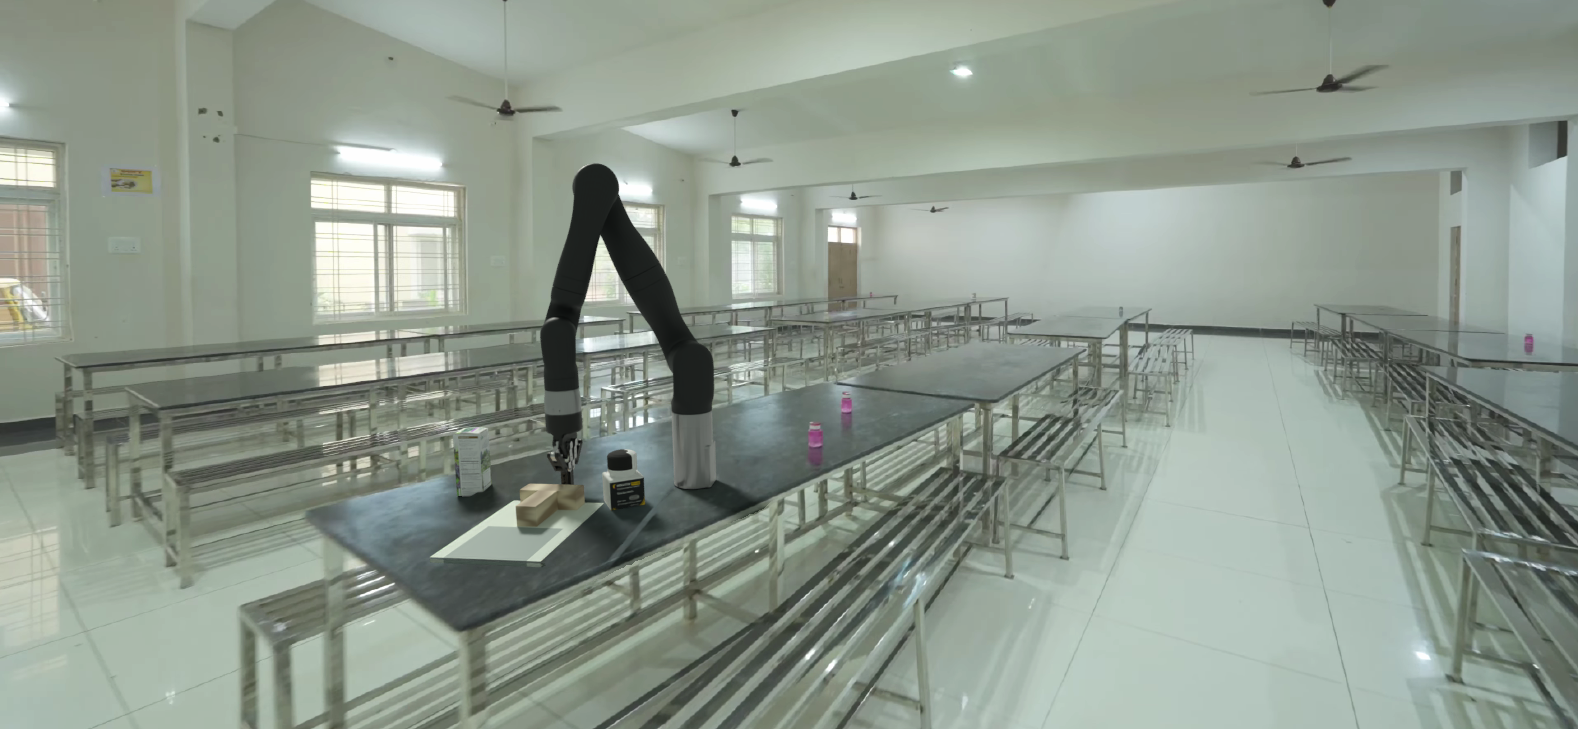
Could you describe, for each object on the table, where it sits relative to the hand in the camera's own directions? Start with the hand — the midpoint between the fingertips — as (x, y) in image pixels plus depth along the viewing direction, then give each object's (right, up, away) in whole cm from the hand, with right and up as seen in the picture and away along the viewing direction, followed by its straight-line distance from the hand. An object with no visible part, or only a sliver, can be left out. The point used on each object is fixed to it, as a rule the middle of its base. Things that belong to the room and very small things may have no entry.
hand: (567, 487), depth 145 cm
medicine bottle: (+14, -3, -5) cm, 15 cm away
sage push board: (-2, -5, -18) cm, 19 cm away
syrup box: (-23, -2, +5) cm, 23 cm away
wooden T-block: (-1, -3, -11) cm, 12 cm away
